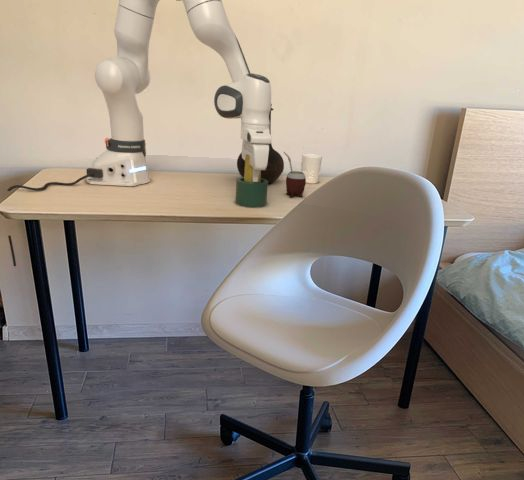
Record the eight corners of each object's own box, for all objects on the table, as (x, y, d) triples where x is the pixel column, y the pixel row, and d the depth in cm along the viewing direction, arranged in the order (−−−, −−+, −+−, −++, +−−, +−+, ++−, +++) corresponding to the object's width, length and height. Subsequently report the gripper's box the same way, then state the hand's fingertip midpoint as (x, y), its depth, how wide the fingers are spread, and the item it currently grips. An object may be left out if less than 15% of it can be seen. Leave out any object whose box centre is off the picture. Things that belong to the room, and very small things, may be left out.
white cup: (322, 183, 203) (325, 157, 198) (304, 184, 200) (307, 157, 195) (313, 179, 209) (316, 153, 204) (296, 179, 206) (298, 153, 201)
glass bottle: (227, 179, 199) (229, 99, 185) (261, 175, 210) (266, 99, 195) (257, 189, 188) (262, 105, 174) (291, 184, 198) (299, 105, 184)
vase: (244, 203, 166) (246, 157, 159) (239, 198, 171) (242, 153, 164) (262, 203, 167) (265, 157, 160) (257, 198, 173) (260, 154, 165)
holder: (239, 207, 164) (240, 183, 160) (232, 199, 172) (233, 176, 169) (269, 207, 167) (271, 184, 163) (261, 199, 175) (263, 176, 171)
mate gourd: (307, 195, 184) (311, 151, 176) (298, 199, 178) (303, 154, 170) (288, 192, 187) (292, 148, 179) (279, 196, 180) (283, 151, 173)
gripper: (238, 128, 166) (236, 172, 173) (252, 138, 149) (250, 186, 156) (256, 128, 168) (254, 172, 175) (273, 138, 151) (269, 186, 158)
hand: (252, 179), depth 166 cm, fingers closed on vase, 5 cm apart
